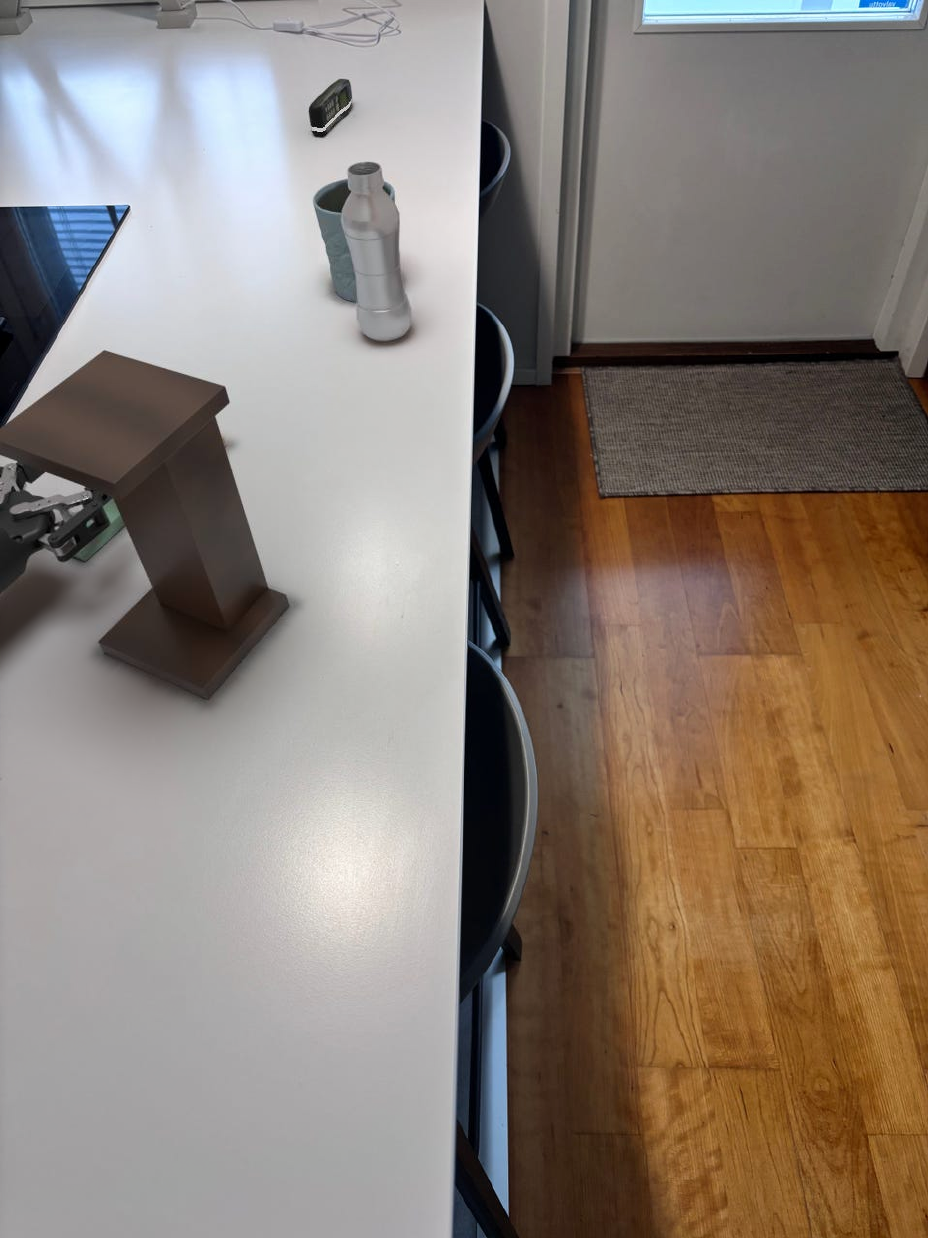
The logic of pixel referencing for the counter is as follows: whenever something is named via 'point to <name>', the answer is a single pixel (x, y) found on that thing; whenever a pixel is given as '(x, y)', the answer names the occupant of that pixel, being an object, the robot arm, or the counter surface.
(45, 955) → the counter surface
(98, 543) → the spatula
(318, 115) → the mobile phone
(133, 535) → the brown pedestal stand
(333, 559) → the counter surface
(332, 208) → the blue-grey embossed cup
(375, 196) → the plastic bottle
